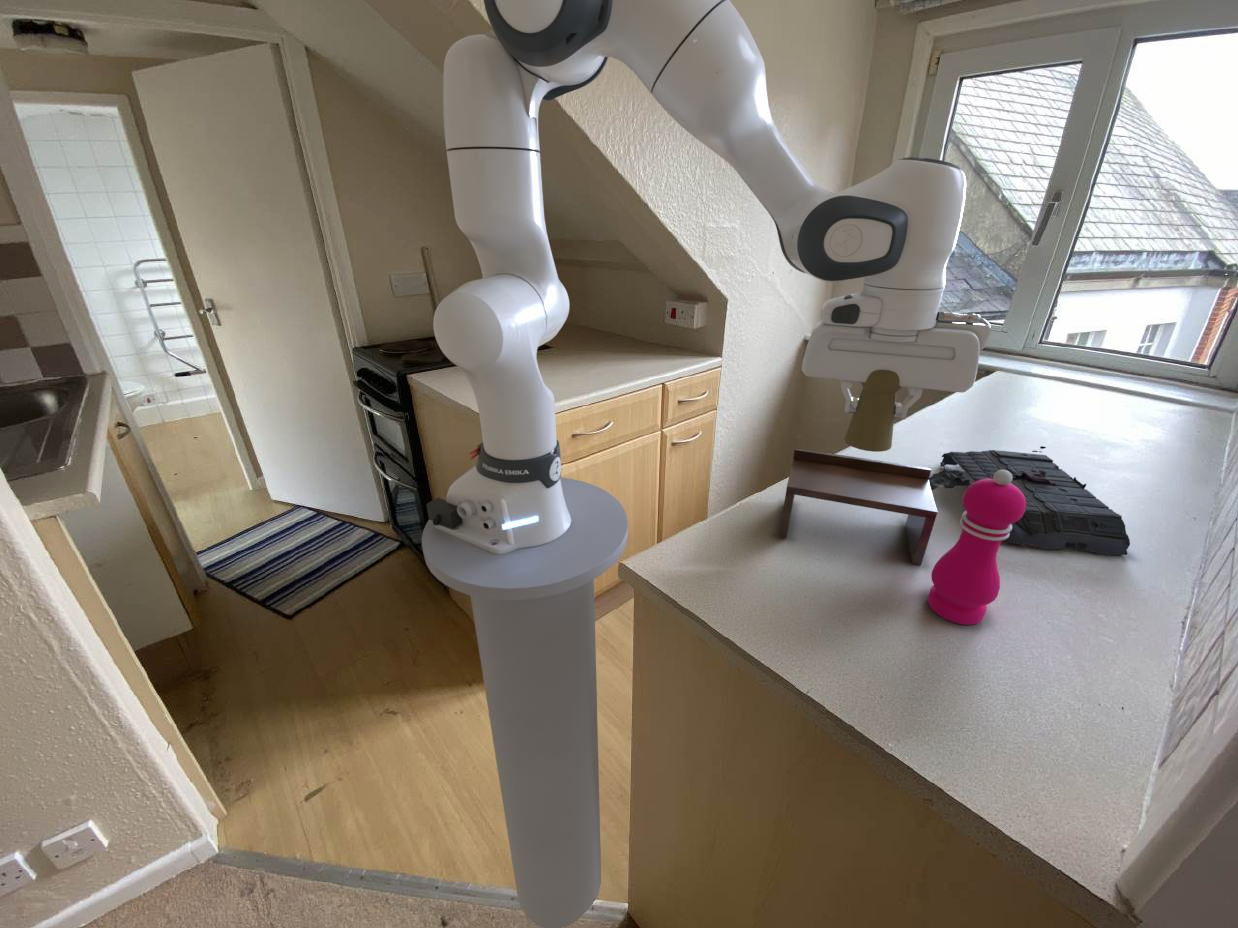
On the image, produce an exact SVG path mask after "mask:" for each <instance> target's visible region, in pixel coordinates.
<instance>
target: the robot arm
mask: <svg viewBox="0 0 1238 928" xmlns="http://www.w3.org/2000/svg"><path fill="white" fill-rule="evenodd" d="M483 5H484V10H485V11H486V16H487V19H488V21H489V24H490V27H491V30H490V31H488V32H486V33H485V34H484V33H483V34H482V33H481V34H480V33H479V34H472V35H467V36H465V37H463V38H461V39H459V40H457V41H455V42H454V43H453V44H452V45H451V46H450V47H449V48H448V50H447V52H446V54H445V57H444V61H443V77H442V111H443V112H442V116H443V117H442V120H443V131H444V132H443V133H444V142H445V151H446V161H447V166H448V174H449V182H450V190H451V198H452V207H453V212H454V220H455V222H456V224H457V227H458V228H459V230H460V231H461V232H462V233H463V234H464V236H465V237H466V238H467V239H468V240H469V243H470V244H471V246H472V248H473V251H474V253H475V255H476V259H477V261H478V263H479V267H480V270H481V274H482V278H478V279H474V280H470V281H467V282H464V283H463V284H462V285H460V286H458V287H457V288H456V289H454V290H453V291H452V292H450V293H449V294H447V296H445V297H444V298H442V300H441V301H440V302H439V304H438V305H437V306H436V309H435V311H434V315H433V325H432V326H433V332H434V337H435V340H436V344H437V345H438V347H439V349H440V350H441V352H442V354H443V355H444V356H445V357H446V358H447V359H448V360H449V361H450V362H451V363H453V364H454V365H455V366H457V367H458V368H460V369H461V370H462V372H463V373H464V375H465V376H466V378H467V380H468V383H469V384H470V387H471V389H472V391H473V395H474V397H475V401H476V405H477V410H478V416H479V423H480V428H481V429H480V431H481V437H482V442H481V443H479V444H478V445H476V446H477V447H476V448H475V449H473V450H471V451H470V452H469V453H468V455H470V457H469V460H471V461H472V460H473V459H475V458H476V457H478V458H477V461H476V464H474V465H473V466H472V467H471V468H469V469H468V470H467V471H466V472H464V473H463V474H462V475H460V476H459V477H458V478H457V479H455V481H454V482H452V484H451V485H450V486H449V488H448V489H447V494H446V499H443V498H441V497H436V498H434V499H433V500H430V501H429V502H427V503H426V504H425V506H426V510H427V515H428V521H429V520H432V521H433V524H434V527H435V528H436V529H438V530H441V531H443V532H445V533H447V534H450V535H452V536H454V537H457V538H459V539H461V540H463V541H466V542H468V543H470V544H472V545H475V546H477V547H479V548H481V549H484V550H486V551H488V552H491V553H493V554H496V555H501V554H505V553H508V552H511V551H514V550H516V549H521V548H528V547H534V546H539V545H543V544H546V543H549V542H551V541H553V540H555V539H557V538H559V537H560V536H561V535H563V534H564V533H565V532H566V531H567V530H568V528H569V527H570V524H571V516H570V514H569V511H568V509H567V506H566V503H565V499H564V495H563V491H562V486H561V480H560V477H562V457H561V446H560V445H561V444H560V441H559V440H558V439H557V422H556V420H557V419H556V405H555V403H556V402H555V401H556V400H555V395H554V393H553V391H552V390H551V388H549V387H548V385H546V383H545V382H544V380H543V377H542V374H541V371H540V367H539V364H538V358H537V357H538V355H537V354H538V348H539V347H541V346H543V345H544V344H546V343H548V342H550V341H551V340H553V339H554V338H555V337H556V336H557V335H558V333H559V332H560V330H561V329H562V328H563V326H564V324H565V323H566V321H567V319H568V317H569V313H570V298H569V295H568V291H567V290H566V287H565V286H564V284H563V283H562V282H561V279H560V278H559V275H558V271H557V268H556V264H555V261H554V256H553V252H552V249H551V245H550V241H549V236H548V232H547V225H546V219H545V206H544V193H543V180H542V163H541V153H540V152H541V149H540V148H541V147H540V135H539V112H540V111H539V110H540V106H541V102H542V100H544V101H552V100H554V99H556V98H559V97H561V96H564V95H565V94H568V93H571V92H573V91H577V90H579V89H582V88H584V87H586V86H587V85H589V84H591V83H592V82H594V81H595V80H596V79H597V78H598V77H599V76H600V75H601V74H602V72H603V70H604V69H605V67H606V65H607V63H608V60H609V58H612V59H616V60H618V61H619V62H621V63H623V64H624V65H626V66H627V68H629V69H630V71H632V72H633V73H634V74H635V76H636V77H637V78H638V79H639V81H640V82H641V83H642V84H643V86H644V87H645V88H646V89H647V91H648V92H649V93H650V95H652V97H653V98H654V99H655V101H656V102H657V103H658V104H659V105H660V106H661V107H662V109H663V110H664V111H665V112H666V113H667V114H668V115H669V116H671V118H672V119H673V120H674V121H675V122H676V123H677V124H679V126H680V127H682V128H683V129H684V130H685V131H686V132H688V133H689V134H690V135H691V136H692V137H694V138H695V139H696V140H698V141H699V142H700V143H701V144H702V145H704V146H705V147H707V148H708V149H710V150H711V151H712V152H714V153H715V154H716V155H718V156H719V157H720V158H722V159H723V160H724V161H725V162H726V163H727V164H728V165H730V166H731V167H732V168H733V170H734V171H735V172H736V173H737V174H738V176H739V177H740V178H741V179H742V180H743V181H744V182H745V185H747V187H748V188H749V190H750V191H751V192H752V194H753V195H754V196H755V197H756V198H757V199H758V201H759V202H760V203H761V205H762V206H763V208H764V209H765V210H766V212H767V213H768V214H769V216H770V217H771V219H772V220H773V222H774V225H775V229H776V231H777V236H778V241H779V246H780V249H781V252H782V255H783V257H784V259H785V260H786V261H787V263H788V264H789V265H790V266H791V267H792V268H794V269H795V270H796V271H799V272H800V273H802V274H807V275H809V276H811V277H812V278H814V279H816V280H818V281H822V282H827V283H838V282H844V281H847V280H854V279H859V278H864V280H863V284H862V289H861V291H858V292H853V293H850V294H846V295H842V296H838V297H832V298H829V299H827V300H826V301H825V302H824V303H823V304H822V306H821V310H820V320H819V321H818V322H816V324H815V325H814V327H813V329H812V331H811V334H810V336H809V339H808V342H807V345H806V348H805V352H804V356H803V359H802V365H801V370H802V372H803V374H804V375H805V377H808V378H817V379H826V380H827V379H828V380H836V381H840V390H841V392H842V394H843V397H844V399H845V405H844V413H848V414H854V413H856V411H857V407H858V400H859V397H855V396H853V395H852V393H851V389H852V388H853V386H854V385H853V384H854V383H855V382H857V383H861V382H866V380H867V378H868V376H869V375H870V373H872V372H873V371H876V370H889V371H893V372H895V373H897V375H898V376H899V381H900V383H899V385H900V386H902V387H904V388H907V391H908V395H907V397H905V399H903V400H902V402H900V401H899V402H897V401H896V404H895V413H894V419H897V420H906V418H907V414H908V411H909V408H911V407H912V406H913V405H914V404H915V403H916V402H918V401H919V399H920V398H921V397H922V395H923V392H924V390H933V391H943V392H952V393H953V392H954V393H960V394H961V393H966V392H967V391H968V390H970V389H971V388H973V387H974V386H975V382H976V380H977V379H976V378H977V374H978V370H979V369H978V368H979V361H980V352H981V351H982V350H983V349H985V347H986V346H987V344H988V341H989V338H990V335H991V331H992V328H991V324H990V323H989V322H988V320H986V319H985V318H983V317H981V315H980V314H976V313H966V314H965V313H964V314H963V313H957V312H946V311H939V310H940V306H941V303H942V299H943V294H944V292H945V291H944V290H945V287H946V268H947V264H948V262H949V259H950V257H951V255H952V253H953V252H954V250H955V248H956V244H957V241H958V236H959V232H960V227H961V223H962V219H963V213H964V207H965V200H966V191H967V179H966V175H965V172H964V171H963V170H962V169H961V167H959V166H958V165H956V164H954V163H953V162H949V161H945V160H941V159H938V158H937V159H936V158H932V157H931V158H930V157H919V156H917V157H916V156H911V157H909V156H908V157H902V158H900V159H896V160H895V161H894V162H893V163H892V164H891V165H890V166H889V167H887V168H885V169H883V170H882V171H881V172H879V173H877V174H875V175H873V176H871V177H870V178H867V179H865V180H863V181H862V182H859V183H857V184H855V185H851V186H849V187H847V188H845V189H842V190H840V191H837V192H831V191H829V190H827V189H825V188H823V187H821V186H820V185H819V184H817V183H816V182H815V181H814V180H813V178H812V177H811V176H810V175H809V173H808V171H807V170H806V169H805V167H804V166H803V165H802V163H801V162H800V161H799V159H798V158H797V156H796V155H795V154H794V152H793V150H792V149H791V148H790V146H789V145H788V144H787V142H786V141H785V139H784V138H783V136H782V135H781V133H780V132H779V130H778V128H777V126H776V124H775V122H774V119H773V116H772V113H771V108H770V103H769V97H768V86H767V74H766V73H767V72H766V65H765V64H766V63H765V61H764V59H763V57H762V54H761V52H760V50H759V47H758V45H757V42H756V41H755V38H754V37H753V35H752V33H751V31H750V29H749V27H748V25H747V24H746V22H745V20H744V18H743V17H742V16H741V14H740V13H739V12H738V10H737V8H736V7H735V5H734V4H733V3H732V2H731V0H483Z"/></svg>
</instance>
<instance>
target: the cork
mask: <svg viewBox="0 0 1238 928" xmlns="http://www.w3.org/2000/svg"><path fill="white" fill-rule="evenodd" d="M899 383H900V381H899V376H898V375H897V373H895V372H893V371H889V370H876V371H873V372H872V373H870V375H869V376H868V378H867V380H866V382H860V384H861V386H862V389H861V392H860V395H859V397H858V407H857V411H856V413H852V417H851V419H850V422H849V424H848V428H847V431H846V432H845V436H844V438H843V440H844V442H845V443H846V444H847V445H848V446H850V447H852V448H855V449H858V450H861V451H865V452H877V453H879V452H881V453H882V452H886V451H889V450H891V448H892V446H893V436H894V435H893V434H894V425H895V418H894V413H895V404H896V402H897V392H899V391H900V390H901V389H902V387H903V386H900V385H899Z"/></svg>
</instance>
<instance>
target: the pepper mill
mask: <svg viewBox="0 0 1238 928" xmlns="http://www.w3.org/2000/svg"><path fill="white" fill-rule="evenodd" d="M1011 481H1012V474H1011V473H1010V472H1009V471H1007V470H999V471H997V472H995V474H994V476H993V479H982V480H979V481H976V482H974V483H973V484H971V485H970V486H967V488H966V490H965V491H964V493H963V496H962V506H963V508H964V510H965V511H963V513H962V514H961V519H960V520H959V526H960V527H961V528H962V530H961V533H960V536H959V537H958V540H957V541H956V543H955V544H954V545H953V546H952V547H951V548H950V549H949V550H947V552H945V553H944V554H943V555H942V556H941V557H940V558H939V559H938V560H937V561H936V563H935V564H934V566H933V568H932V570H931V573H930V578H931V582H932V584H933V585H932V586H931V588H930V590H929V593H928V596H927V603H928V606H929V608H931V610H932V611H933V612H934V613H935V614H936V615H938V616H940V617H941V618H943V619H945V620H947V621H949V622H952V623H955V624H958V625H964V626H965V625H966V626H970V625H971V626H972V625H973V626H974V625H976V624H979V623H981V622H982V621H983V619H984V618H985V614H986V612H987V609H988V606H987V605H990V604H991V603H993V602H994V601H996V599H997V598H998V595H999V592H1000V589H1001V576H1000V572H999V568H998V562H997V561H998V560H997V555H998V552H999V548H1000V546H1001V543H1002V542H1003V541H1002V540H1005V539H1007V538H1008V537H1009V535H1010V533H1009V532H1010V531H1011V530H1012V525H1011V524H1012V523H1015V522H1017V521H1018V520H1019V519H1020V518H1021V517H1022V516H1023V514H1024V512H1025V509H1026V500H1025V497H1024V495H1023V493H1022V492H1021V491H1020V489H1018V488H1017V487H1016V486H1014V485H1013V484H1011Z"/></svg>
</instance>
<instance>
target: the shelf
mask: <svg viewBox="0 0 1238 928" xmlns="http://www.w3.org/2000/svg"><path fill="white" fill-rule="evenodd" d="M931 473H932V468H930V467H924V466H919V465H918V466H917V465H912V464H904V463H899V462H891V461H884V460H877V459H870V458H864V457H857V456H851V455H844V454H838V453H837V454H836V453H830V452H823V451H816V450H811V449H803V448H798V447H797V448H794V451H793V457H792V462H791V466H790V470H789V474H788V475H789V476H788V480H787V484H786V489H785V495H784V501H783V507H782V514H781V521H780V527H779V532H778V537H779V538H784V539H787V538H788V534H789V528H790V522H791V517H792V512H793V507H794V502H795V501H794V500H795V496H800V497H805V498H811V499H817V500H824V501H829V502H834V503H840V504H847V505H851V506H858V507H863V508H868V509H875V510H879V511H885V512H892V513H897V514H903V515H907V518H906V521H905V530H906V536H907V537H906V538H907V543H908V547H909V553H910V560H911V564H913V565H918V566H922V563H923V560H924V557H925V554H926V550H927V548H928V544H929V541H930V538H931V535H932V531H933V529H934V525H935V524H936V523H935V522H936V520H937V516H938V508H937V505H936V501H935V498H934V495H933V491H931V487H930V484H929V480H928V479H929V477H931Z"/></svg>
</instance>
